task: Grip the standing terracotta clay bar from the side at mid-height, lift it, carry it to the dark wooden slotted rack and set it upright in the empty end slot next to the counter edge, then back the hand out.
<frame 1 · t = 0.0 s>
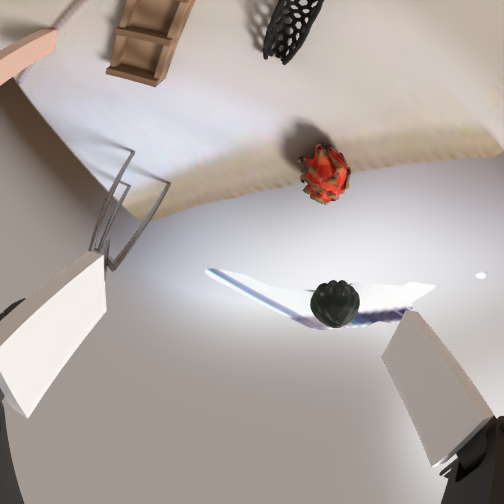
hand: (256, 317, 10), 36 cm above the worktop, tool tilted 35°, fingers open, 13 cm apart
dragon fruit: (323, 160, 45), on the worktop
rack: (160, 11, 24), on the worktop
juicer: (140, 176, 53), on the worktop
clay bar: (48, 39, 24), on the worktop
squash: (334, 285, 81), on the worktop
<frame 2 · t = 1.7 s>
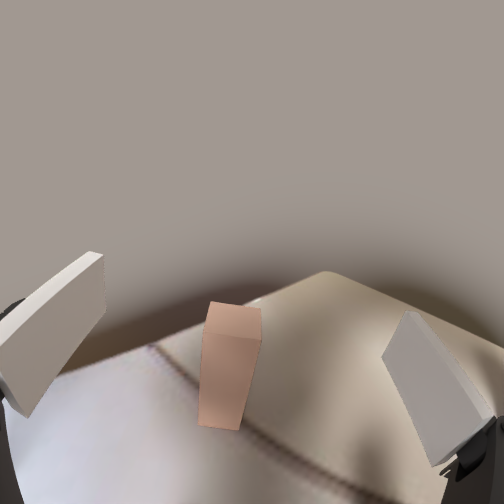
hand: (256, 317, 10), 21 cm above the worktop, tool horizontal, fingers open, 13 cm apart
clay bar: (219, 413, 27), on the worktop
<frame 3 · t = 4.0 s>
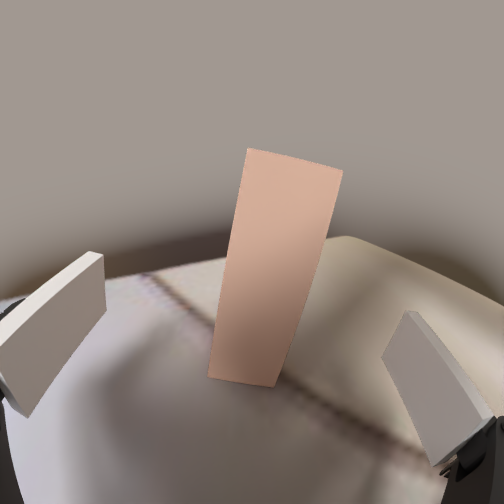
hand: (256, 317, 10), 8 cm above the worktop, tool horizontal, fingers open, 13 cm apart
clay bar: (242, 360, 19), on the worktop
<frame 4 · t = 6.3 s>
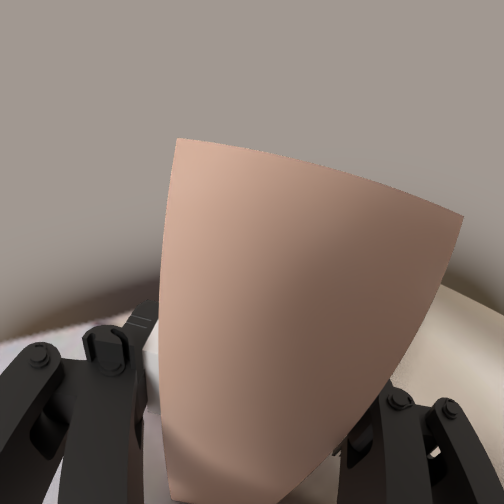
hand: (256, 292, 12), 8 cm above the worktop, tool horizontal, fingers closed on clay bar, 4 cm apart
clay bar: (222, 472, 10), on the worktop, touching gripper
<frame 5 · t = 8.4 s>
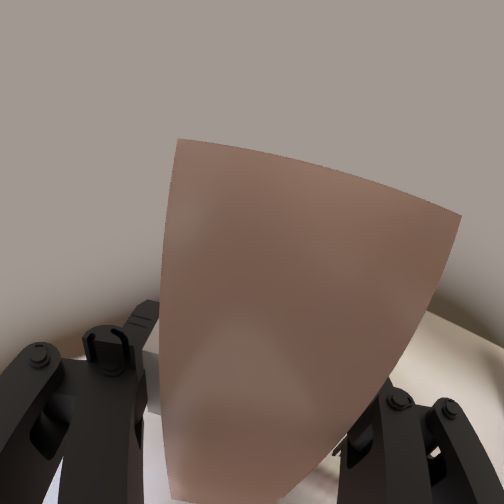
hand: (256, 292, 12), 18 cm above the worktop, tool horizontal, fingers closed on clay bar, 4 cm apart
clay bar: (222, 471, 10), point 10 cm above the worktop, touching gripper
when the fingers open (10 cm above the worktop, at t = 10.7 s): clay bar drops 1 cm, resting on rack.
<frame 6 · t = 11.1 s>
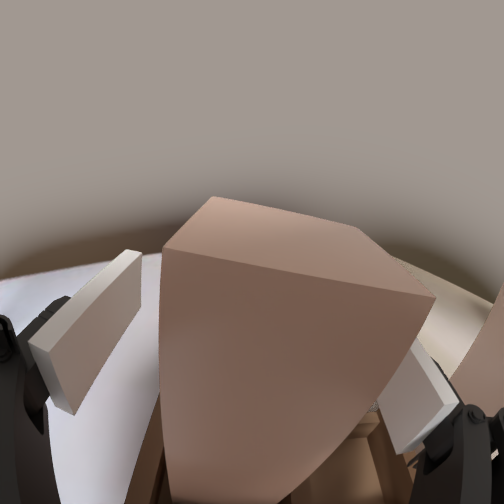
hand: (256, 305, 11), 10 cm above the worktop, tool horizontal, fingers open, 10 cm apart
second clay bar: (420, 464, 11), point 1 cm above the worktop, touching rack
rack: (330, 486, 11), on the worktop
clay bar: (219, 480, 11), point 1 cm above the worktop, touching rack
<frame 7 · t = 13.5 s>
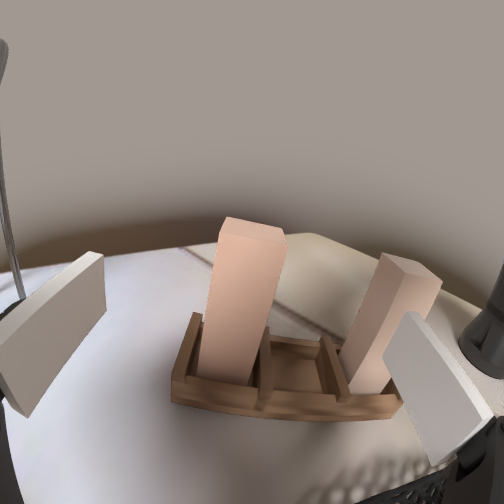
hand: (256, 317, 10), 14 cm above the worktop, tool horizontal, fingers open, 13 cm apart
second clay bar: (353, 384, 25), point 1 cm above the worktop, touching rack
rack: (289, 386, 25), on the worktop
clay bar: (222, 370, 24), point 1 cm above the worktop, touching rack
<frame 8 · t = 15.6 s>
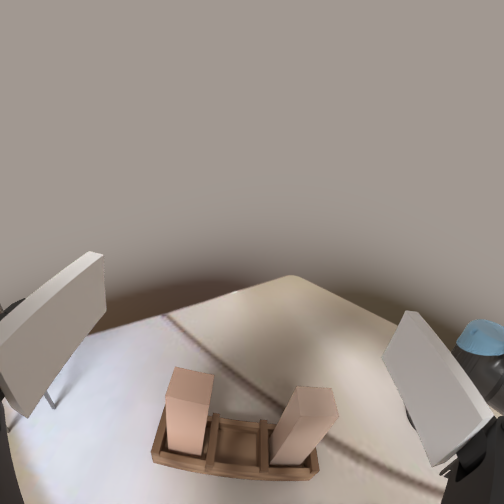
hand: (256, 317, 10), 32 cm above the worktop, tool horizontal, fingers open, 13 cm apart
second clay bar: (283, 454, 31), point 1 cm above the worktop, touching rack
rack: (234, 452, 31), on the worktop
clay bar: (186, 442, 30), point 1 cm above the worktop, touching rack
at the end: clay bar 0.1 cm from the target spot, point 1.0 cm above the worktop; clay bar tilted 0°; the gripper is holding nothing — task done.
